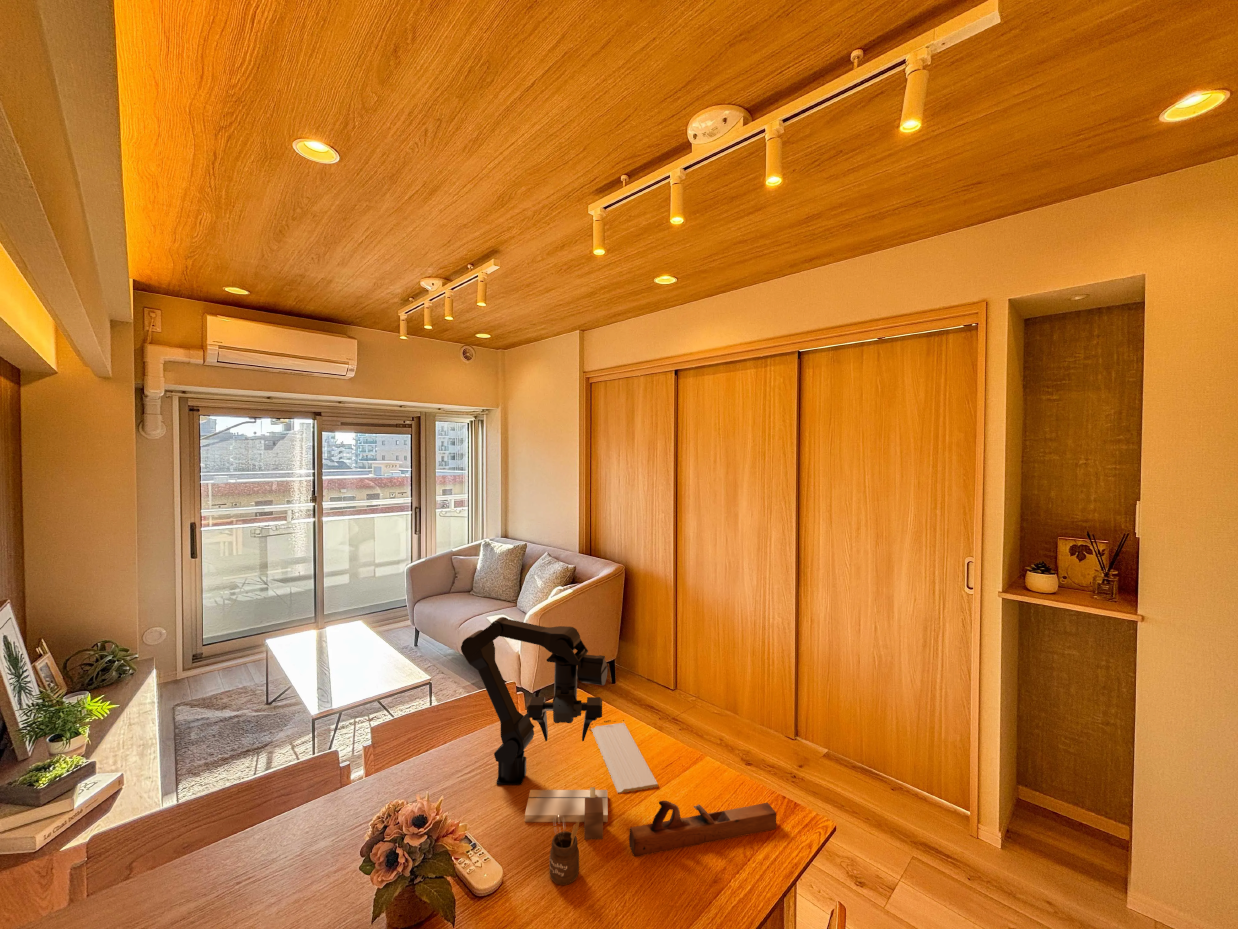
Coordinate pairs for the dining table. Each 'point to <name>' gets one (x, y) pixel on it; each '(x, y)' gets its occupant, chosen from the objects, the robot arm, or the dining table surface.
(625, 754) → the baseboard molding
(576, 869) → the utensil holder
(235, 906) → the dining table surface
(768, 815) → the hand plane
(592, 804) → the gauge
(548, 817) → the board
